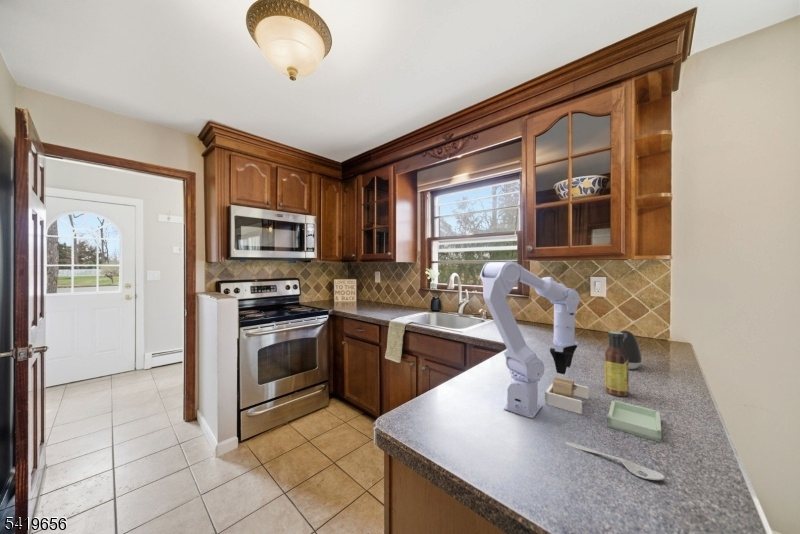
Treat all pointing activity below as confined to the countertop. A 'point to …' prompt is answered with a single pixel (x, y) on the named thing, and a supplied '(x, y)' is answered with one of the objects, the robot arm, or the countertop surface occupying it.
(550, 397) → the bay
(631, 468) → the spoon
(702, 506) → the countertop surface
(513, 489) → the countertop surface
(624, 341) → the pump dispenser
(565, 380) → the upright wooden block
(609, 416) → the tray
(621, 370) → the sauce bottle
